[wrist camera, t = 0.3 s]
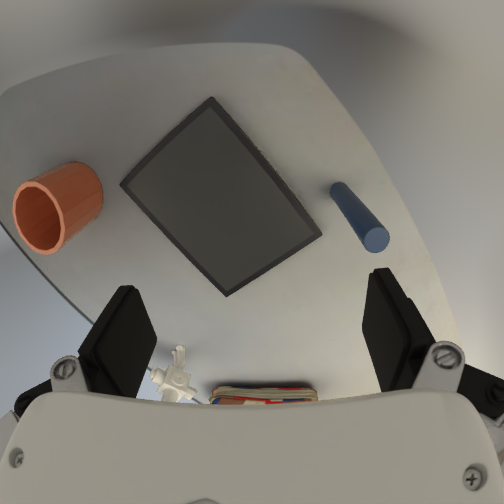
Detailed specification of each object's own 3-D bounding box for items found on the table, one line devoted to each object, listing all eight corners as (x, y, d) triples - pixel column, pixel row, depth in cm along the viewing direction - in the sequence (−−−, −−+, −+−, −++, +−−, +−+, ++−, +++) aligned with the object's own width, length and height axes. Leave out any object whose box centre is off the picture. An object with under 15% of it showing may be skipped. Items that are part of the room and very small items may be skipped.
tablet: (122, 182, 33) (118, 185, 32) (213, 96, 28) (211, 96, 27) (227, 293, 39) (226, 298, 38) (321, 231, 35) (323, 235, 34)
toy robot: (197, 368, 47) (185, 425, 37) (158, 348, 46) (137, 405, 35) (208, 357, 46) (196, 417, 35) (166, 336, 44) (145, 395, 34)
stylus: (326, 189, 32) (358, 237, 21) (341, 178, 31) (382, 221, 20) (336, 203, 33) (371, 258, 21) (351, 193, 32) (394, 243, 21)
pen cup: (45, 192, 33) (5, 216, 25) (74, 148, 30) (29, 165, 22) (81, 235, 36) (46, 267, 28) (114, 195, 33) (76, 223, 25)
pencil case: (303, 410, 53) (304, 430, 49) (208, 398, 52) (204, 418, 48) (323, 380, 48) (326, 403, 44) (214, 365, 47) (210, 388, 42)
